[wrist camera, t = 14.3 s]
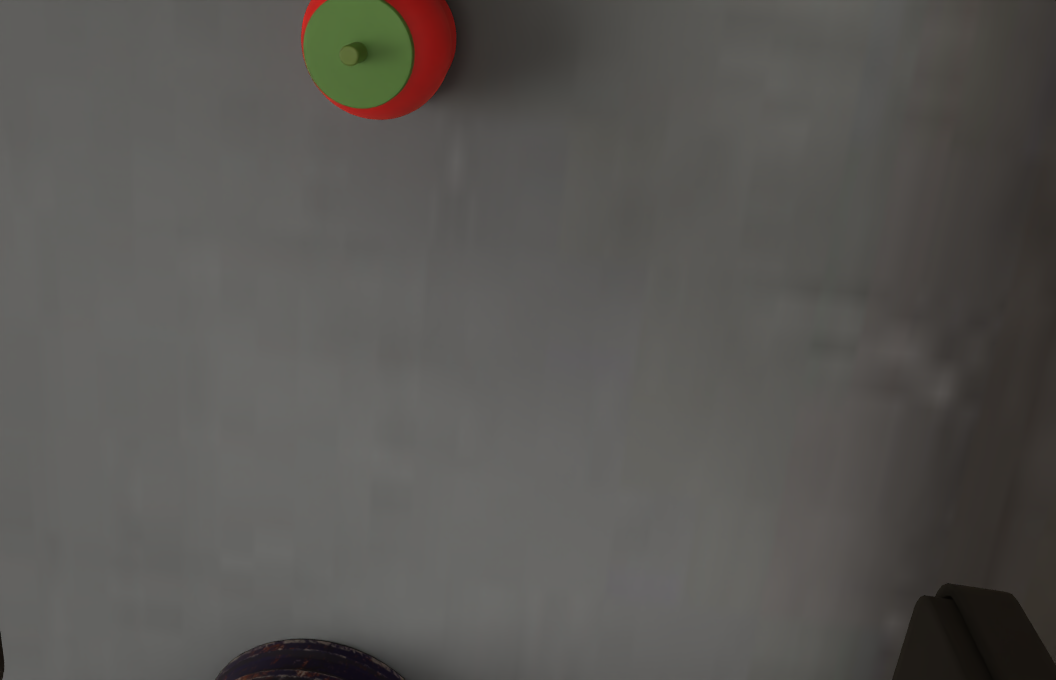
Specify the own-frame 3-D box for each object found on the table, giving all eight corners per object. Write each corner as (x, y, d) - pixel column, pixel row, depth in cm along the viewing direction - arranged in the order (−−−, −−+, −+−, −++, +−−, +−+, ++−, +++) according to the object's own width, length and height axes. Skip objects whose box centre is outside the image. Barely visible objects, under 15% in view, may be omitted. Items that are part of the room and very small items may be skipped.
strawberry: (469, -30, 27) (436, -23, 22) (457, 113, 28) (424, 148, 24) (330, -47, 27) (268, -43, 22) (326, 96, 29) (268, 127, 24)
